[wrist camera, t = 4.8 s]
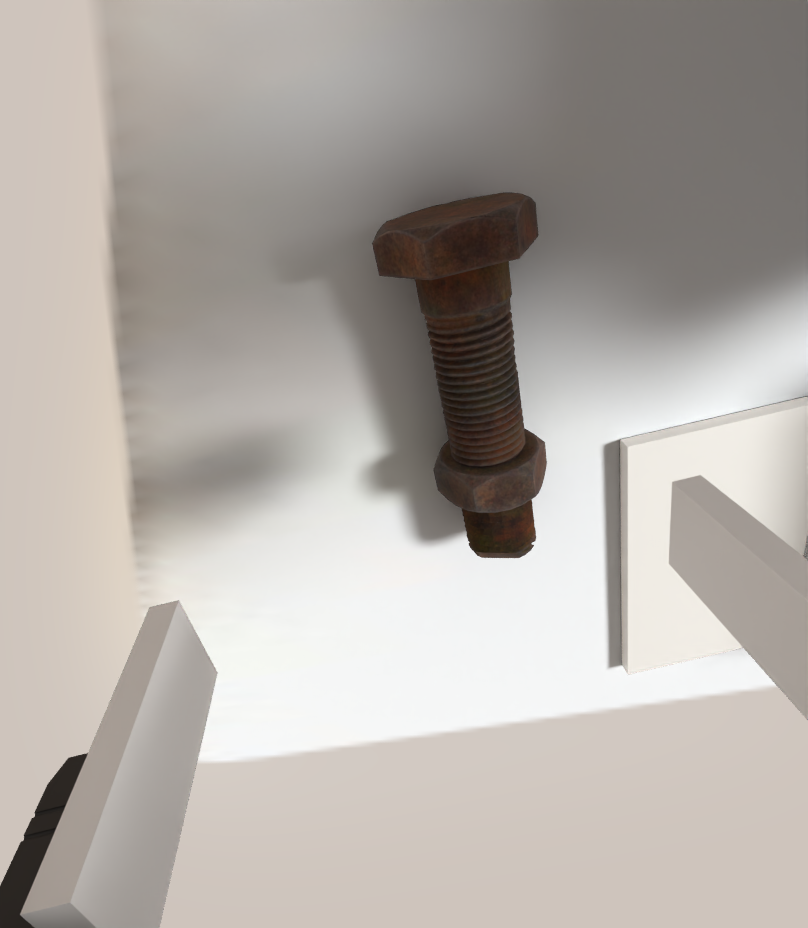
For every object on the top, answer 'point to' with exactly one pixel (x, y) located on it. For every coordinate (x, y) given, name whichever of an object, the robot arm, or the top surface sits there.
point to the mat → (649, 513)
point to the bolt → (475, 358)
